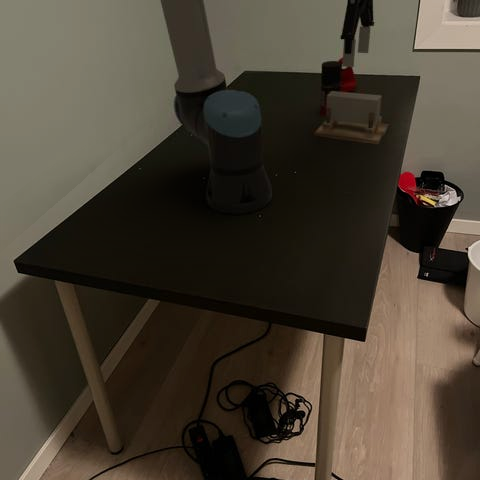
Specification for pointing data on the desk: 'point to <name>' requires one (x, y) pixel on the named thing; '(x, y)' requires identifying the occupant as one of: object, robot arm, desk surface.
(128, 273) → the desk surface
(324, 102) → the deodorant
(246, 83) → the desk surface
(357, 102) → the grey rectangular block
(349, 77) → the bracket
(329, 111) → the rack
